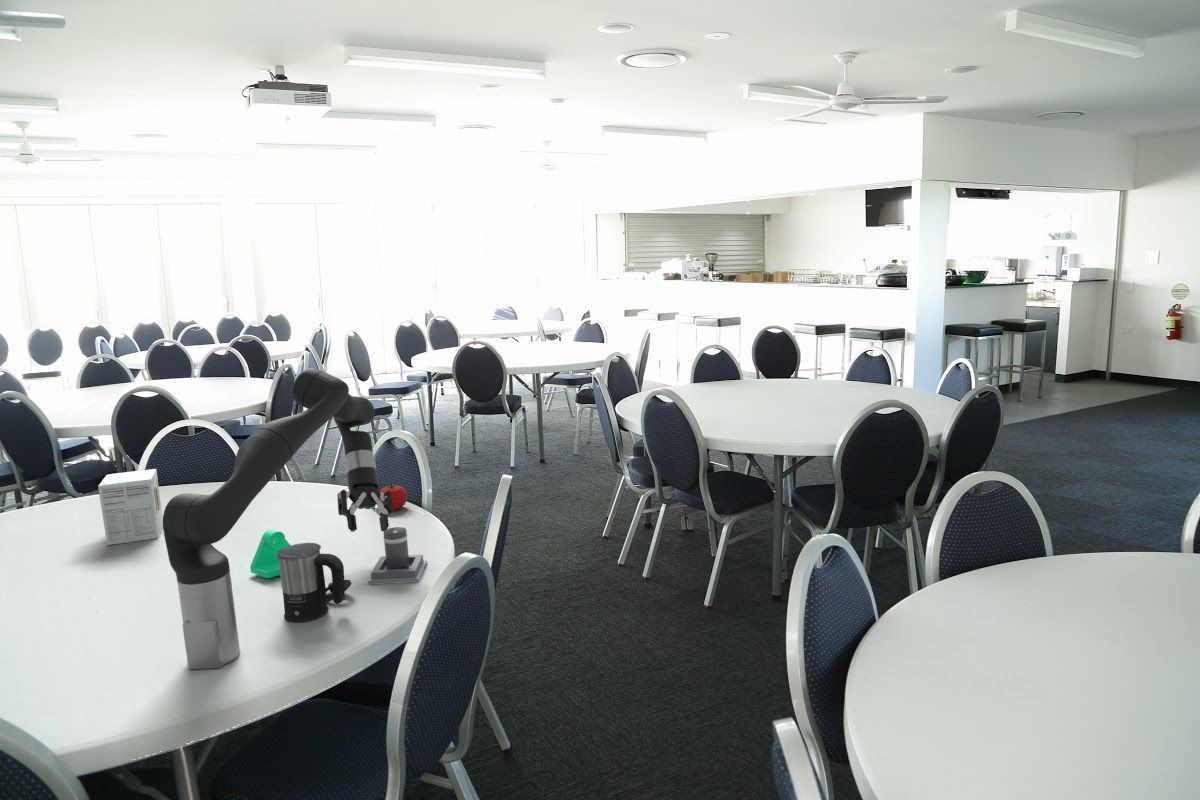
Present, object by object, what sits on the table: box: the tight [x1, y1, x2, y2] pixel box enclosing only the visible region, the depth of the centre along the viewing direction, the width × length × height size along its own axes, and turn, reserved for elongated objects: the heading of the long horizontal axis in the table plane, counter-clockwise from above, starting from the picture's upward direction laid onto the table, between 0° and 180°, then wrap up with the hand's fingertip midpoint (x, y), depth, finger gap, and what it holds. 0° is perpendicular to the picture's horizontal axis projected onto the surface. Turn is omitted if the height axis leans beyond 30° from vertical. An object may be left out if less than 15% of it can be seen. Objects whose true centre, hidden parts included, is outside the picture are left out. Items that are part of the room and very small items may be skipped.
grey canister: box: [382, 526, 410, 570], centre depth 198 cm, size 6×6×10 cm
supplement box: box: [97, 468, 164, 546], centre depth 233 cm, size 13×13×18 cm
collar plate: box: [367, 554, 428, 585], centre depth 199 cm, size 12×12×2 cm
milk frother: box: [276, 542, 352, 623], centre depth 181 cm, size 14×16×15 cm
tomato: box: [379, 483, 408, 511], centre depth 249 cm, size 9×9×8 cm
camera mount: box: [249, 528, 291, 579], centre depth 203 cm, size 12×8×10 cm, turn 144°
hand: (369, 530), depth 205 cm, fingers open, 8 cm apart
